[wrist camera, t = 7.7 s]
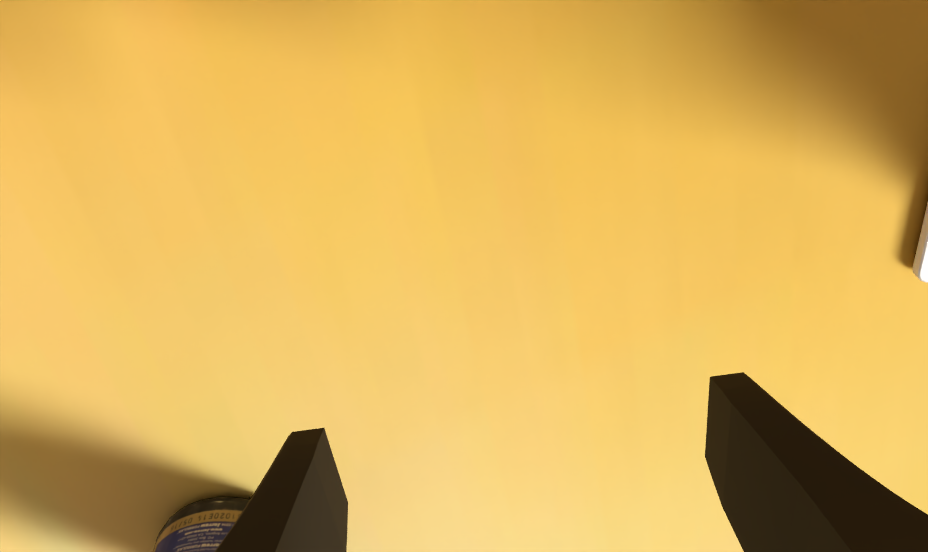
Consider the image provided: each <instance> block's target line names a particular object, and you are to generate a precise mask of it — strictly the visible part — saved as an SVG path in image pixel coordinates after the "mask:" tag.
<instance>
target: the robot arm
mask: <svg viewBox="0 0 928 552" xmlns="http://www.w3.org/2000/svg"><path fill="white" fill-rule="evenodd" d="M913 273H914V274H915V276H916V277H917V278H919V279H920V280H921V281H923V282H928V203H927V208H926V212H925V216H924V221H923V225H922V229H921V234H920V238H919V242H918V247H917V251H916V255H915V260H914V264H913ZM705 458H706V461H707V464H708V467H709V470H710V473H711V476H712V479H713V482H714V485H715V487H716V490H717V493H718V496H719V499H720V501H721V504H722V507H723V509H724V511H725V513H726V515H727V518H728V520H729V522H730V524H731V526H732V528H733V530H734V532H735V534H736V536H737V538H738V540H739V542H740V544H741V547H742V549H743V551H744V552H928V515H927V514H926V513H924V512H923V511H921V510H919V509H918V508H916V507H915V506H913V505H911V504H910V503H908V502H907V501H905V500H904V499H902V498H901V497H899V496H898V495H896V494H895V493H893V492H892V491H890V490H889V489H887V488H886V487H885V486H883V485H882V484H880V483H879V482H878V481H876V480H875V479H873V478H872V477H871V476H869V475H868V474H867V473H865V472H864V471H862V470H861V469H860V468H858V467H857V466H856V465H854V464H853V463H852V462H850V461H849V460H848V459H847V458H845V457H844V456H843V455H841V454H840V453H839V452H838V451H836V450H835V449H834V448H833V447H831V446H830V445H829V444H828V443H826V442H825V441H824V440H823V439H821V438H820V437H819V436H818V435H816V434H815V433H814V432H813V431H811V430H810V429H809V428H808V427H807V426H805V425H804V424H803V423H802V422H801V421H799V420H798V419H797V418H796V417H795V416H794V415H792V414H791V413H790V412H789V411H788V410H786V409H785V408H784V407H783V406H782V405H781V404H780V403H778V402H777V401H776V400H775V399H774V398H773V397H771V396H770V395H769V394H768V393H767V392H766V391H765V390H763V389H762V388H761V387H760V386H759V385H758V384H757V383H755V382H754V381H753V380H752V379H751V378H750V377H748V376H747V375H746V374H745V373H735V374H728V375H720V376H713V377H710V385H709V401H708V417H707V433H706V449H705ZM347 518H348V501H347V498H346V495H345V492H344V489H343V486H342V482H341V479H340V476H339V473H338V470H337V467H336V464H335V461H334V457H333V454H332V451H331V448H330V445H329V442H328V439H327V436H326V432H325V429H324V428H319V429H312V430H304V431H297V432H292V433H291V434H290V435H289V436H288V438H287V439H286V441H285V443H284V445H283V446H282V448H281V450H280V451H279V453H278V455H277V456H276V458H275V460H274V461H273V463H272V465H271V467H270V468H269V470H268V472H267V473H266V475H265V476H264V478H263V480H262V481H261V483H260V485H259V486H258V488H257V489H256V491H255V493H254V494H253V496H252V497H251V499H250V500H249V502H248V503H247V505H246V506H245V508H244V510H243V511H242V513H241V514H240V516H239V517H238V519H237V520H236V522H235V523H234V525H233V526H232V528H231V529H230V531H229V532H228V534H227V535H226V536H225V538H224V539H223V541H222V542H221V543H220V545H219V546H218V548H217V549H216V550H215V552H346V546H347Z"/></svg>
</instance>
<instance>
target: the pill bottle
mask: <svg viewBox="0 0 928 552" xmlns="http://www.w3.org/2000/svg"><path fill="white" fill-rule="evenodd" d="M248 502H249V499H244V498H233V497H227V498H226V497H217V498H213V499H207V500H200V501H198V502H195V503H192V504H190V505H188V506H186V507H184V508H182V509H181V510H179V511H178V512H176V513H175V514H174V515H173V516H171V518H170V519H169V520H168V522H167V523H166V525H165V526H164V527H163V529H162V530H161V531H160V533H159V535H158V537H157V540H156V545H155V548H154V550H153V552H215V550H216V549H217V548H218V546H219V545H220V543H221V542H222V541H223V539H224V538H225V536H226V535H227V534H228V532H229V531H230V529H231V528H232V526H233V525H234V523H235V522H236V520H237V519H238V517H239V516H240V514H241V513H242V511H243V510H244V508H245V506H246V505H247V503H248Z"/></svg>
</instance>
